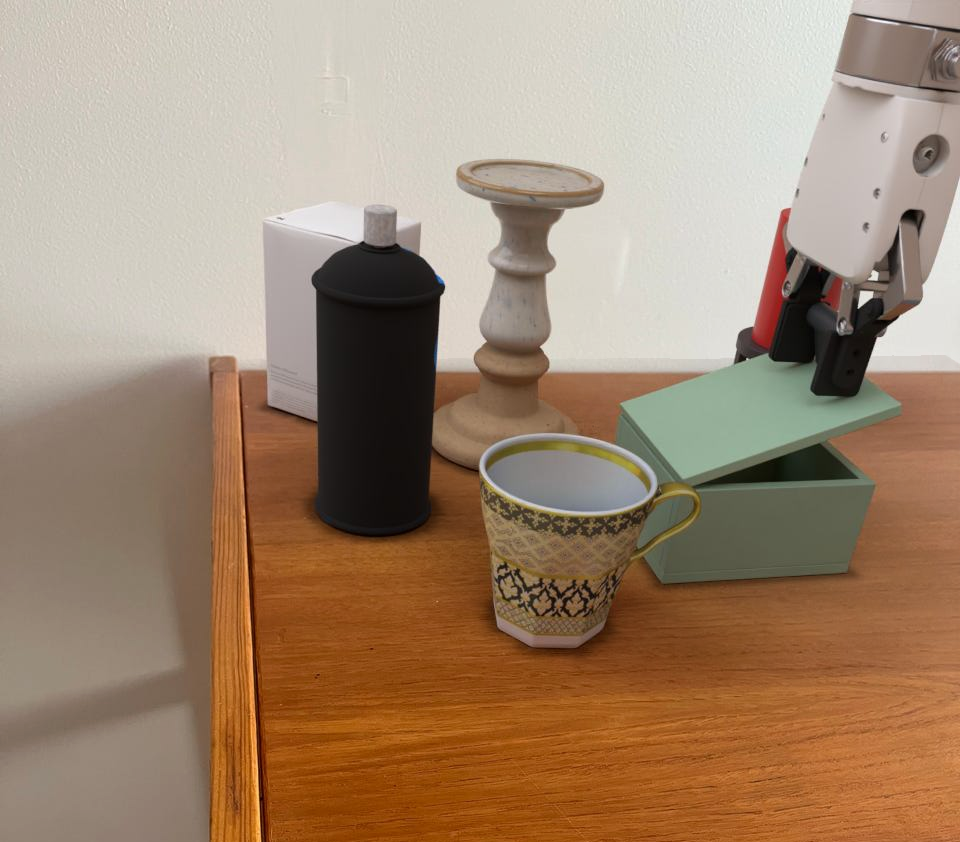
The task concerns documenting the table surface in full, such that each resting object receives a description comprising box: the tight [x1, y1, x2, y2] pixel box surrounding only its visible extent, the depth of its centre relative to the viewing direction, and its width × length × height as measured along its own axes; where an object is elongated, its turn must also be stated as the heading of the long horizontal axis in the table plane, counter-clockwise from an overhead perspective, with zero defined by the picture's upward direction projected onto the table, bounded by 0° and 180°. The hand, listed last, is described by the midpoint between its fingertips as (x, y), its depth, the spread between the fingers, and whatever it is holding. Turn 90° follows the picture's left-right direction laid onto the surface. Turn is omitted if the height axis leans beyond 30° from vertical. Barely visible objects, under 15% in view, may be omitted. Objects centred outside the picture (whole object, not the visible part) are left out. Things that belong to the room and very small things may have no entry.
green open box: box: [613, 413, 877, 585], centre depth 71 cm, size 14×12×7 cm
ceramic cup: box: [478, 433, 701, 649], centre depth 60 cm, size 13×10×10 cm
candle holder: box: [432, 158, 605, 471], centre depth 77 cm, size 12×12×20 cm
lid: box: [619, 302, 903, 487], centre depth 67 cm, size 14×12×5 cm
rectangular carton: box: [262, 200, 422, 422], centre depth 82 cm, size 9×9×15 cm
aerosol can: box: [311, 204, 446, 537], centre depth 67 cm, size 8×8×20 cm
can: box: [752, 207, 843, 350], centre depth 88 cm, size 7×7×10 cm
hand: (811, 374), depth 67 cm, fingers closed on lid, 5 cm apart
